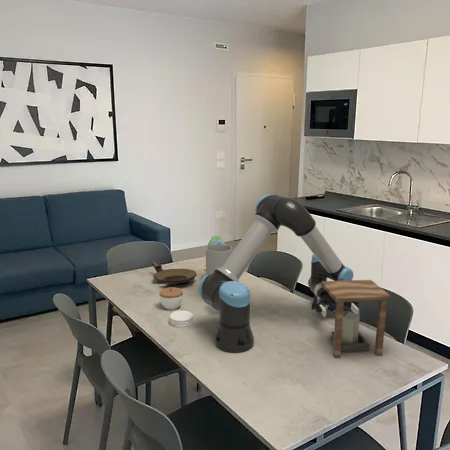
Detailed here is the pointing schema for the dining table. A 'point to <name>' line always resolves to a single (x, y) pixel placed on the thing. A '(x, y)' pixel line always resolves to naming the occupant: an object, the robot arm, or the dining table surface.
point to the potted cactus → (215, 241)
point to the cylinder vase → (216, 256)
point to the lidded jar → (171, 297)
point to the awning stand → (352, 293)
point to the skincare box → (350, 328)
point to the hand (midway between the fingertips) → (341, 313)
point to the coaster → (181, 318)
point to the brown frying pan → (173, 275)
